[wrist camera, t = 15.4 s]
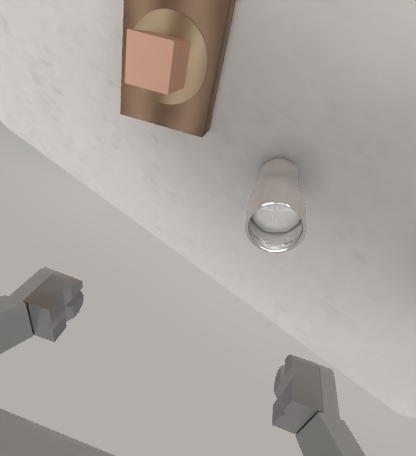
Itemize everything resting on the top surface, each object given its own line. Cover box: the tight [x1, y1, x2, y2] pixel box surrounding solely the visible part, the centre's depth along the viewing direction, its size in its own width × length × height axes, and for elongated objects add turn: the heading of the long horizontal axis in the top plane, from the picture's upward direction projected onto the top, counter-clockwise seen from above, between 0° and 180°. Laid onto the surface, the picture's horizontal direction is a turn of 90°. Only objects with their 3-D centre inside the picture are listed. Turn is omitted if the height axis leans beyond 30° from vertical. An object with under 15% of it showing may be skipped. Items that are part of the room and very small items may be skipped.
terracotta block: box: [125, 29, 191, 95], centre depth 32 cm, size 5×5×6 cm
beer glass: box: [245, 158, 306, 252], centre depth 38 cm, size 7×7×15 cm
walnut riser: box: [120, 0, 236, 137], centre depth 37 cm, size 12×16×4 cm
